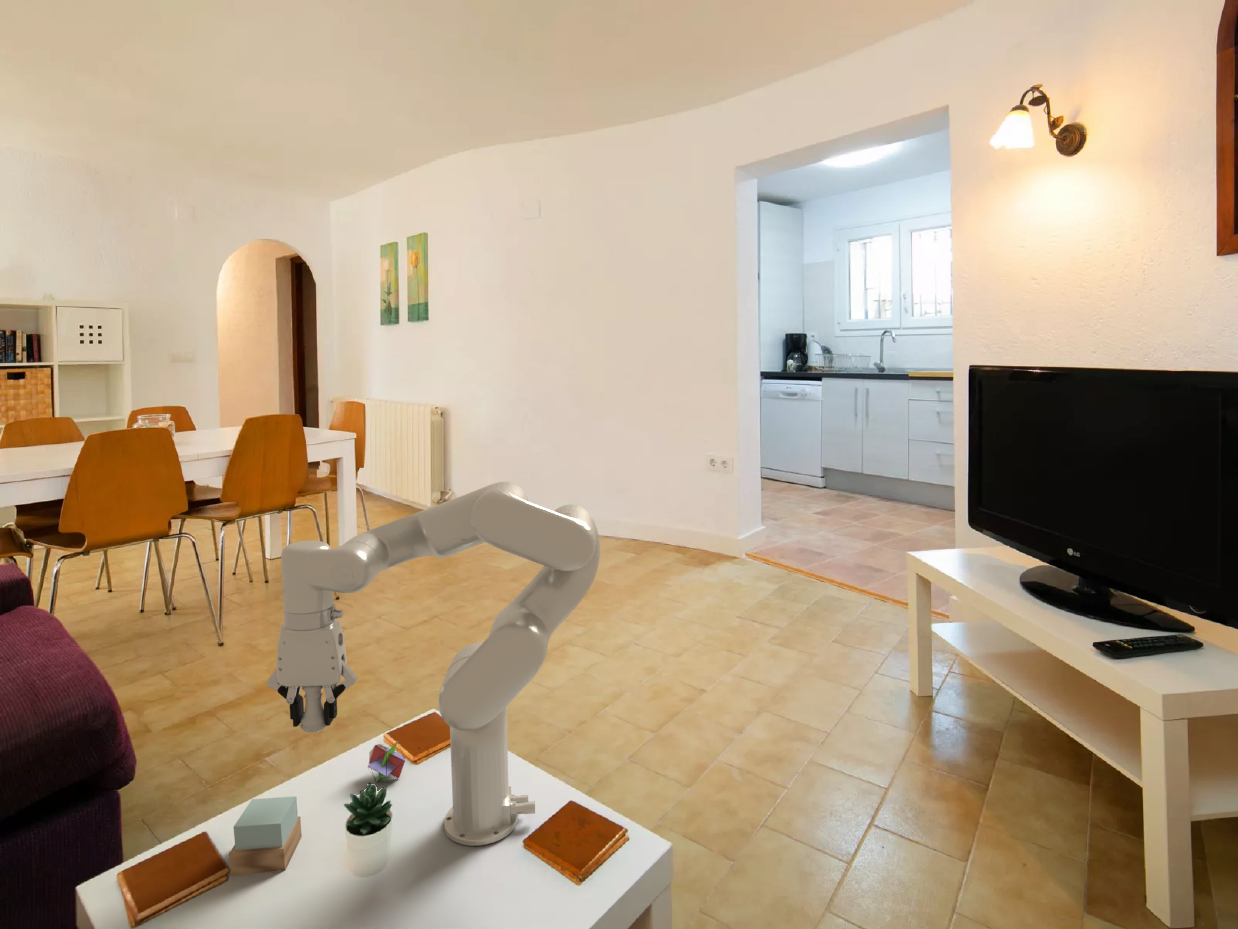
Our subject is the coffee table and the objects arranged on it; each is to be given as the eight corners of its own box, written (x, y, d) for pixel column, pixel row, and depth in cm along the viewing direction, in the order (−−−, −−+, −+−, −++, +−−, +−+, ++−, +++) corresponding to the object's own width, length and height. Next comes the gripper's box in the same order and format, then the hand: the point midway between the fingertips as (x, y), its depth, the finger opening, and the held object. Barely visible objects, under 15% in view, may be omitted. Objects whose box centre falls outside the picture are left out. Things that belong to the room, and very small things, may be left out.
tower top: (297, 818, 116) (296, 796, 116) (282, 846, 109) (280, 823, 109) (253, 821, 115) (252, 799, 115) (235, 850, 108) (233, 826, 108)
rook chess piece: (317, 734, 114) (315, 688, 113) (294, 731, 115) (291, 685, 114) (334, 721, 118) (332, 676, 117) (311, 718, 119) (309, 674, 118)
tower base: (301, 838, 117) (300, 816, 117) (285, 872, 109) (283, 848, 109) (251, 842, 116) (249, 820, 116) (231, 876, 108) (229, 853, 108)
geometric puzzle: (421, 760, 136) (397, 727, 136) (402, 780, 129) (377, 745, 130) (395, 777, 138) (372, 744, 138) (376, 798, 131) (351, 763, 131)
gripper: (368, 608, 118) (371, 710, 121) (265, 610, 117) (270, 713, 119) (356, 624, 111) (360, 732, 113) (245, 626, 109) (252, 735, 112)
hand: (314, 721), depth 116 cm, fingers closed on rook chess piece, 4 cm apart
